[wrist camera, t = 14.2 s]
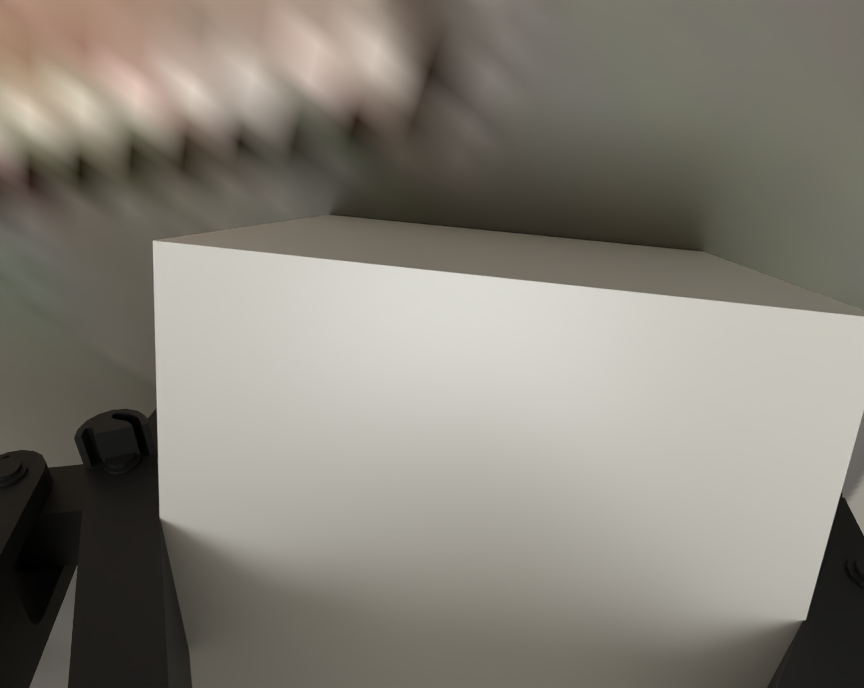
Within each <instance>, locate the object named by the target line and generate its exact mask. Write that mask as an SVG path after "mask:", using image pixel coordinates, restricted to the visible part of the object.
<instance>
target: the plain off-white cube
mask: <svg viewBox="0 0 864 688" xmlns="http://www.w3.org/2000/svg"><path fill="white" fill-rule="evenodd" d="M153 270H154V311H155V352H156V393H157V434H158V475H159V516H160V520H161V524H162V529H163V534H164V538H165V543H166V547H167V552H168V556H169V561H170V566H171V570H172V575H173V579H174V584H175V589H176V593H177V598H178V602H179V607H180V611H181V616H182V621H183V625H184V630H185V634H186V639H187V644H188V648H189V655H190V667H191V680H192V688H767V687H768V685H769V683H770V681H771V679H772V678H773V676H774V674H775V672H776V670H777V668H778V666H779V664H780V663H781V661H782V659H783V657H784V655H785V653H786V651H787V650H788V648H789V646H790V644H791V642H792V640H793V638H794V637H795V635H796V633H797V631H798V629H799V627H800V625H801V623H802V622H803V620H805V621H806V617H807V614H808V610H809V607H810V603H811V599H812V596H813V592H814V589H815V585H816V581H817V578H818V574H819V570H820V567H821V563H822V560H823V556H824V552H825V549H826V545H827V541H828V538H829V534H830V531H831V527H832V523H833V520H834V516H835V513H836V509H837V505H838V502H839V498H840V494H841V491H842V487H843V484H844V480H845V476H846V473H847V469H848V466H849V462H850V458H851V455H852V451H853V447H854V444H855V440H856V437H857V433H858V429H859V426H860V422H861V418H862V415H863V411H864V310H862V309H859V308H857V307H854V306H851V305H848V304H846V303H843V302H840V301H837V300H835V299H832V298H829V297H826V296H824V295H821V294H818V293H816V292H813V291H810V290H807V289H805V288H802V287H799V286H796V285H794V284H791V283H788V282H785V281H783V280H780V279H777V278H774V277H772V276H769V275H766V274H763V273H761V272H758V271H755V270H753V269H750V268H747V267H744V266H742V265H739V264H736V263H733V262H731V261H728V260H725V259H722V258H720V257H717V256H714V255H711V254H709V253H706V252H701V251H691V250H681V249H671V248H661V247H651V246H641V245H631V244H620V243H610V242H600V241H590V240H580V239H570V238H560V237H549V236H539V235H529V234H519V233H509V232H499V231H489V230H478V229H468V228H458V227H448V226H438V225H428V224H418V223H408V222H397V221H387V220H377V219H367V218H357V217H347V216H337V215H323V216H317V217H310V218H303V219H296V220H289V221H283V222H276V223H269V224H262V225H255V226H249V227H242V228H235V229H228V230H221V231H215V232H208V233H201V234H194V235H187V236H181V237H174V238H167V239H160V240H153Z"/></svg>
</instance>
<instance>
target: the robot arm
mask: <svg viewBox="0 0 864 688" xmlns="http://www.w3.org/2000/svg"><path fill="white" fill-rule="evenodd" d="M74 439H75V442H76V445H77V447H78V450H79V453H80V456H81V458H82V461H83V464H82V465H73V466H63V467H52V468H48V466H47V464H46V462H45V460H44V458H43V456H42V455H41V454H39V453H37V452H34V451H26V450H19V451H13V452H8V453H5V454H2V455H0V688H29V686H30V684H31V681H32V679H33V676H34V674H35V671H36V669H37V666H38V663H39V661H40V658H41V656H42V653H43V651H44V648H45V646H46V643H47V640H48V638H49V635H50V633H51V630H52V628H53V625H54V622H55V620H56V617H57V615H58V612H59V610H60V607H61V605H62V602H63V599H64V597H65V594H66V592H67V589H68V587H69V584H70V582H71V579H72V576H73V574H74V571H75V569H76V566H77V564H78V569H77V582H76V594H75V607H74V619H73V632H72V644H71V657H70V669H69V682H68V688H192V680H191V667H190V655H189V648H188V644H187V639H186V634H185V630H184V625H183V621H182V616H181V611H180V607H179V602H178V598H177V593H176V589H175V584H174V579H173V575H172V570H171V566H170V561H169V556H168V552H167V547H166V543H165V538H164V534H163V529H162V524H161V520H160V516H159V475H158V434H157V408H156V410H155V411H154V412H153V413H152V414H151V415H150V417H149V418H148V419H147V418H146V416H145V415H143V414H142V413H140V412H138V411H135V410H129V409H120V410H111V411H108V412H104V413H101V414H98V415H96V416H95V417H93V418H91V419H89V420H87V421H86V422H85V423H84V424H83V425H82V426H81V427H80V428H79V429H78V430H77V432H76V435H75V437H74ZM842 495H843V494H842V492H841V494H840V498H839V502H838V505H837V509H836V513H835V516H834V520H833V523H832V527H831V531H830V534H829V538H828V541H827V545H826V549H825V552H824V556H823V560H822V563H821V567H820V570H819V574H818V578H817V581H816V585H815V589H814V592H813V596H812V599H811V603H810V607H809V610H808V614H807V617H806V621H805V620H803V622H802V623H801V625H800V627H799V629H798V631H797V633H796V635H795V637H794V638H793V640H792V642H791V644H790V646H789V648H788V650H787V651H786V653H785V655H784V657H783V659H782V661H781V663H780V664H779V666H778V668H777V670H776V672H775V674H774V676H773V678H772V679H771V681H770V683H769V685H768V687H767V688H864V536H863V533H862V531H861V530H860V527H859V526H858V524H857V522H856V520H855V518H854V516H853V514H852V512H851V510H850V508H849V506H848V504H847V502H846V500H845V498H842Z"/></svg>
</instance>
